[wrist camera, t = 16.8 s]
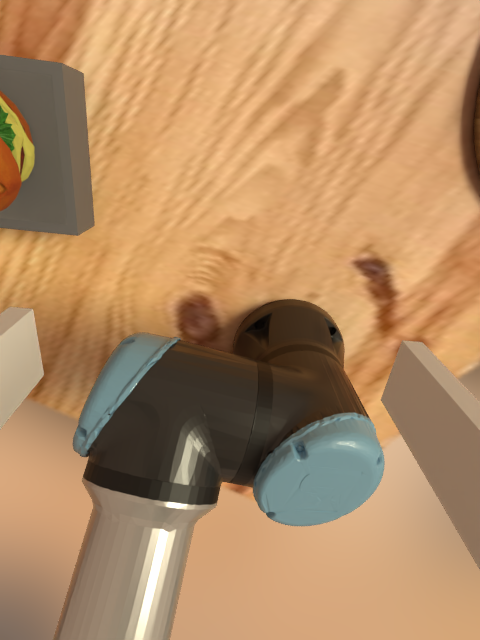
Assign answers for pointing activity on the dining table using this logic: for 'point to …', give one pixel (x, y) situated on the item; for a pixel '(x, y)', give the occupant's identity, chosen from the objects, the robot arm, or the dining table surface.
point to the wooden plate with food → (477, 130)
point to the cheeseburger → (13, 151)
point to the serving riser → (50, 147)
